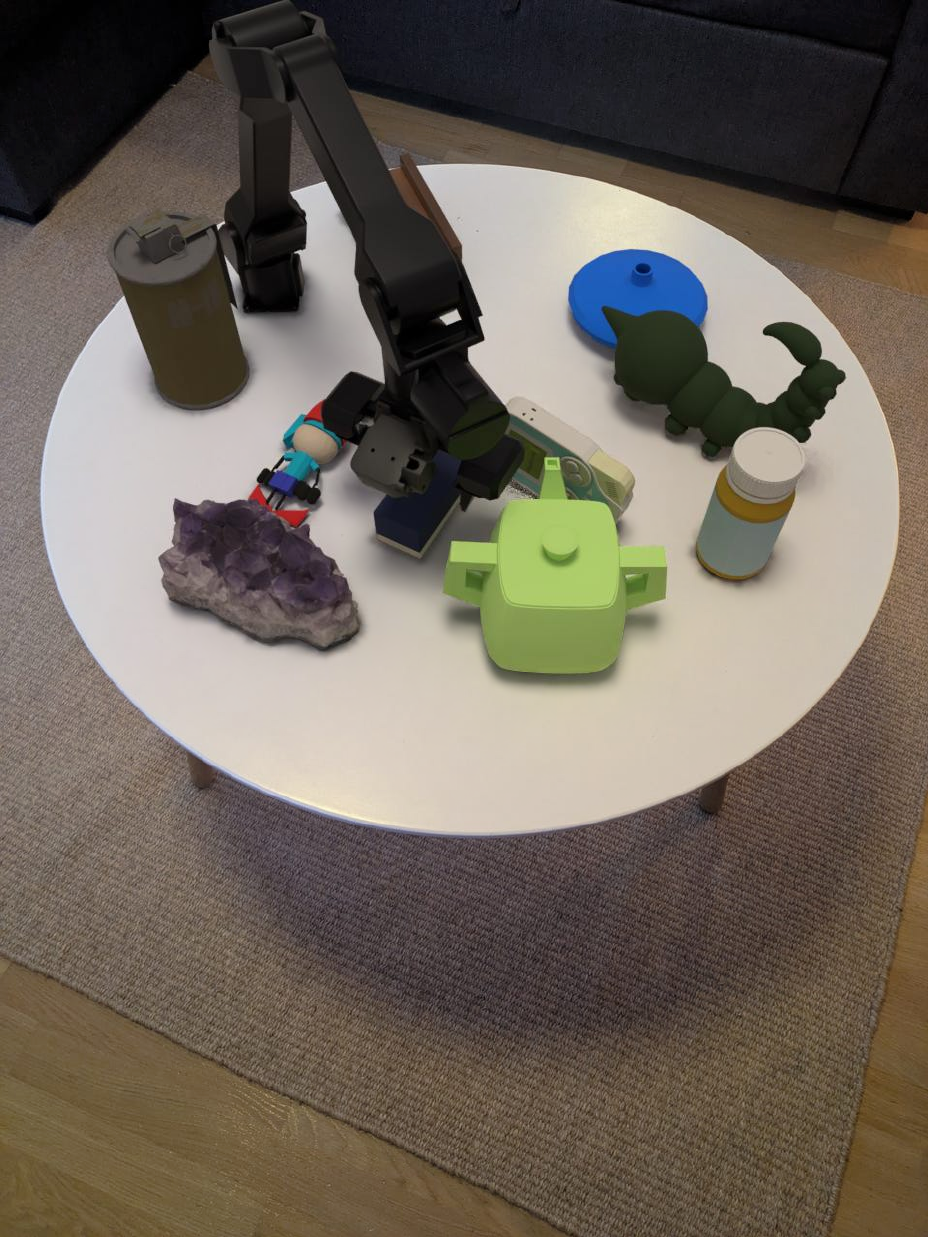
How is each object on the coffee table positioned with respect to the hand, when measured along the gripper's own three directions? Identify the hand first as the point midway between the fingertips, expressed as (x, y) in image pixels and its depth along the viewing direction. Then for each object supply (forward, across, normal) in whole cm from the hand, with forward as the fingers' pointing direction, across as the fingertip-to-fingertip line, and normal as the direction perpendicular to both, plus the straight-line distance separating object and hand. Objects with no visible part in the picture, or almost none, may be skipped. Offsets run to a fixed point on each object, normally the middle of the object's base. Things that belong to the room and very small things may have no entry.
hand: (424, 490), depth 99 cm
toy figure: (+3, -13, -1) cm, 14 cm away
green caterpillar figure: (+3, +19, +24) cm, 31 cm away
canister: (+3, -31, +4) cm, 31 cm away
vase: (+3, +7, +35) cm, 36 cm away
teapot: (+3, +16, -4) cm, 17 cm away
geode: (+3, -8, -16) cm, 18 cm away
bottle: (+3, +29, +10) cm, 31 cm away
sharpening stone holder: (+3, -22, +32) cm, 39 cm away
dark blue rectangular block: (+3, 0, 0) cm, 3 cm away
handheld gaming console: (+3, +11, +7) cm, 13 cm away
